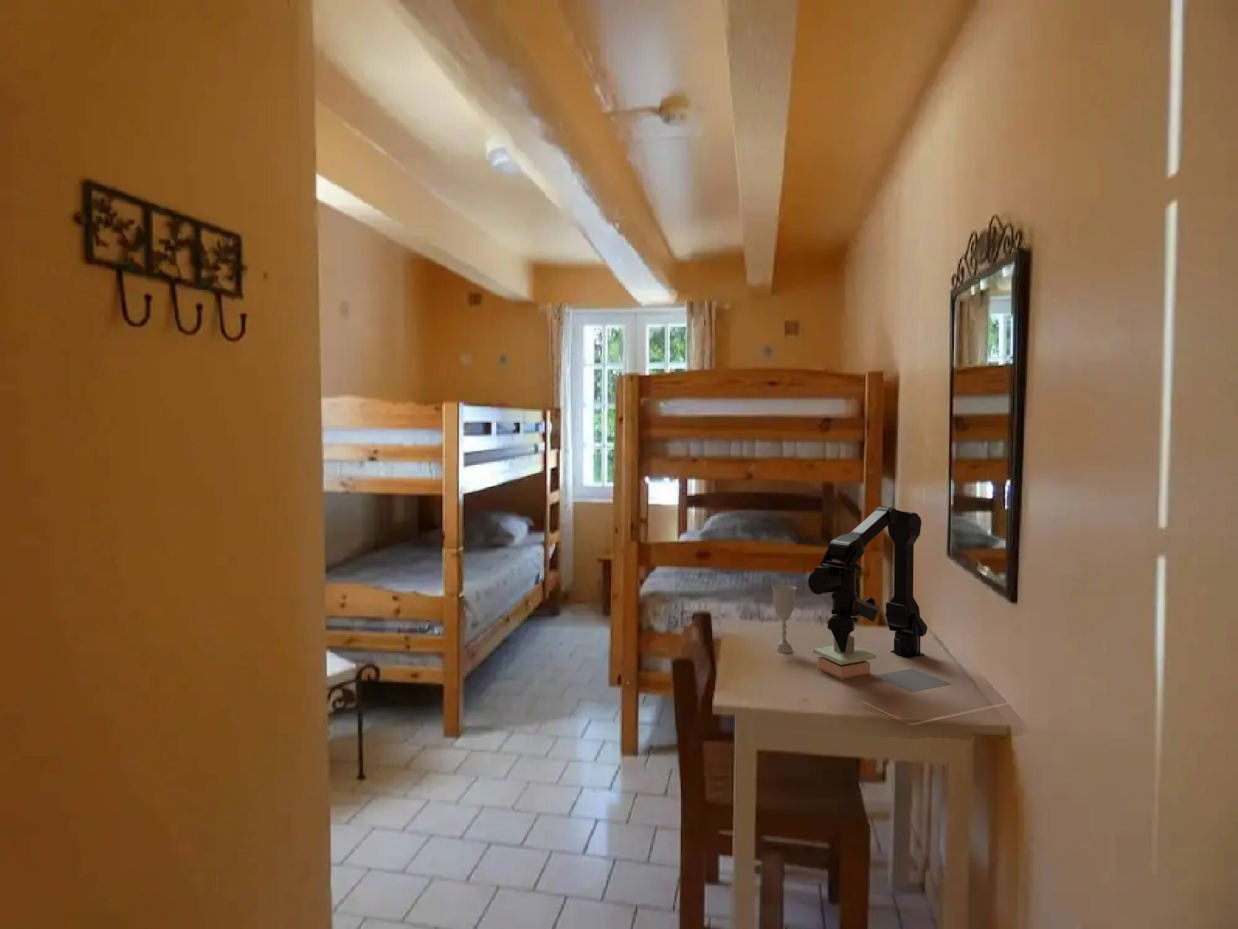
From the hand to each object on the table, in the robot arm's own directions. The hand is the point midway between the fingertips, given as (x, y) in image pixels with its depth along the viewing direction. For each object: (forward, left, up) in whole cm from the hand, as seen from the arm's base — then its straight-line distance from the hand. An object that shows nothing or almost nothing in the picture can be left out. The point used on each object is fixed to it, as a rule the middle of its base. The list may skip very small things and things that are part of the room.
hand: (844, 649), depth 194 cm
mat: (-11, +12, -6) cm, 17 cm away
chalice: (+2, -23, -6) cm, 24 cm away
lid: (0, 0, -2) cm, 2 cm away
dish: (0, 0, -6) cm, 6 cm away
